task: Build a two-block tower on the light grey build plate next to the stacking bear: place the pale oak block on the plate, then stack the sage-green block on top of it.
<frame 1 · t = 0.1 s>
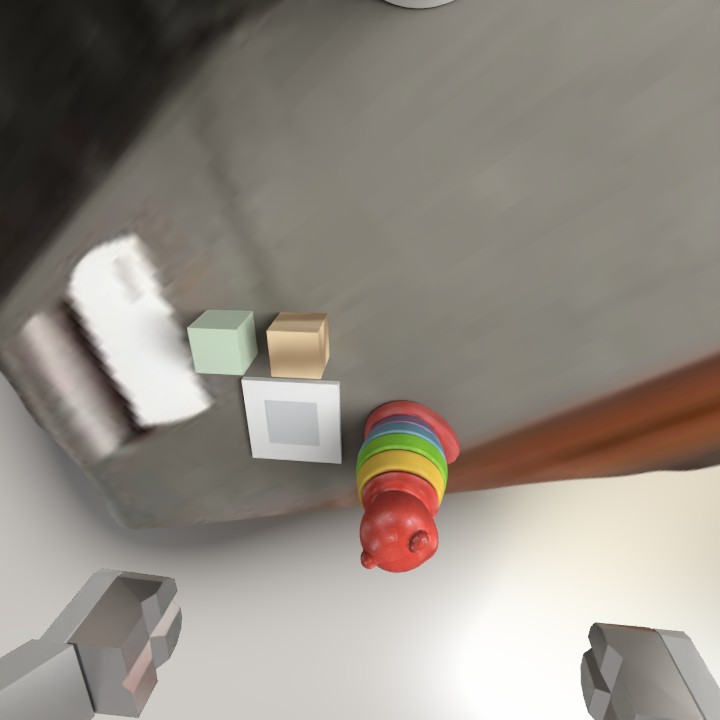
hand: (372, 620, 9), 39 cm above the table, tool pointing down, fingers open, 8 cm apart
build plate: (294, 419, 55), on the table
sage block: (233, 331, 51), on the table
stacking bear: (405, 433, 55), on the table
oak block: (305, 334, 50), on the table
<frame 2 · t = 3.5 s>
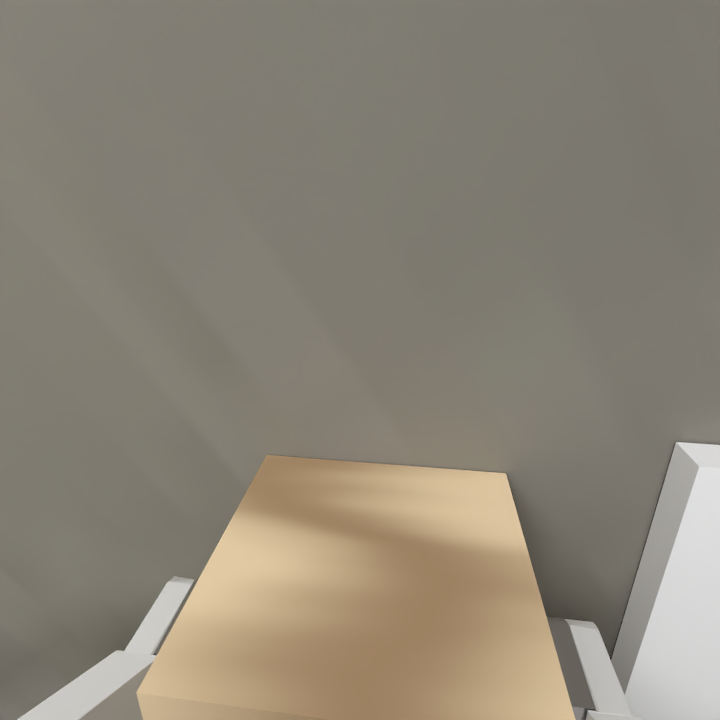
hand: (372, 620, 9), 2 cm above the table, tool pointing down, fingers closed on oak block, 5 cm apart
oak block: (380, 556, 11), on the table, touching gripper
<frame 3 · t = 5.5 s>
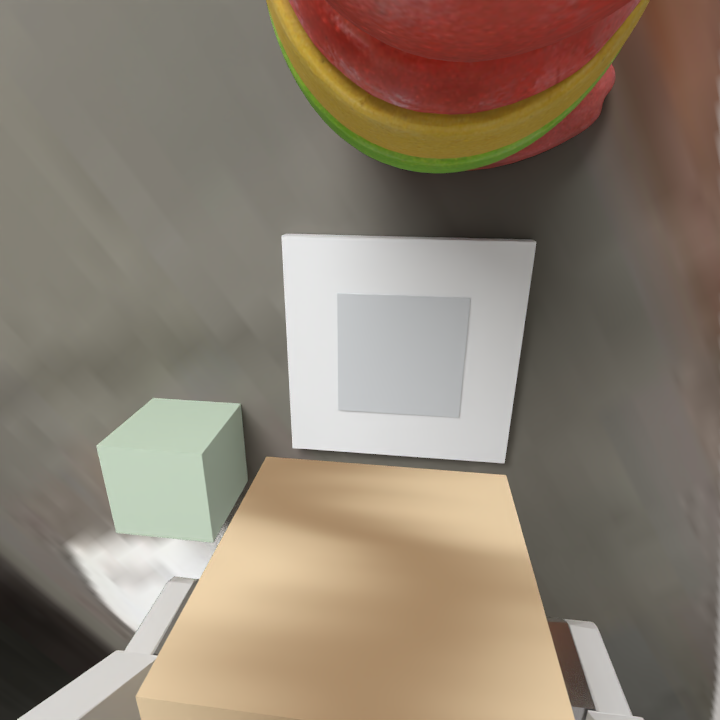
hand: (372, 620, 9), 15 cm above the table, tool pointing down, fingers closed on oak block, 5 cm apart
build plate: (400, 351, 23), on the table
sage block: (202, 439, 27), on the table
stacking bear: (447, 40, 18), on the table
oak block: (379, 558, 11), point 13 cm above the table, touching gripper
when the fingers open (4 cm above the table, at t = 7.9 s): oak block drops 1 cm, resting on build plate.
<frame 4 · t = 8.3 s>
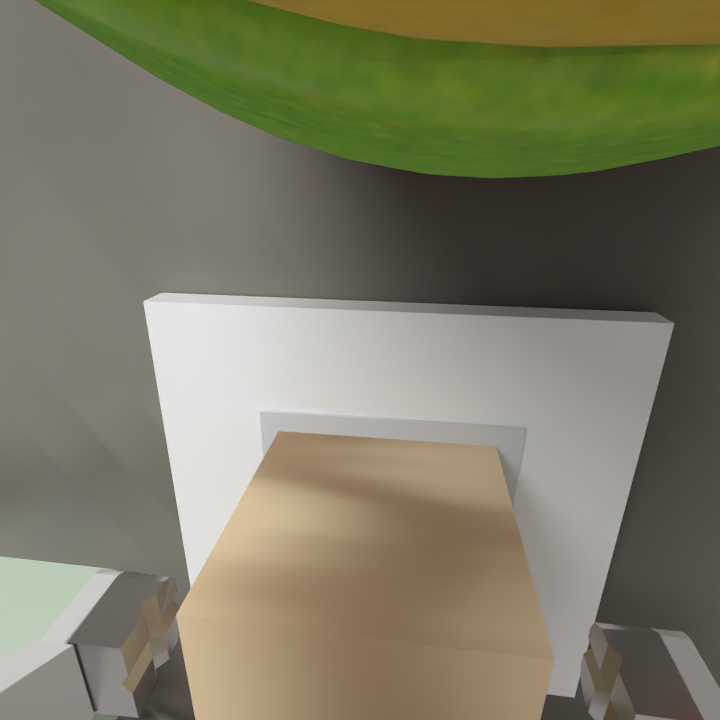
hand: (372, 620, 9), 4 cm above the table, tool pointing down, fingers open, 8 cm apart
build plate: (387, 502, 13), on the table
sage block: (61, 615, 16), on the table
oak block: (381, 525, 12), point 1 cm above the table, touching build plate
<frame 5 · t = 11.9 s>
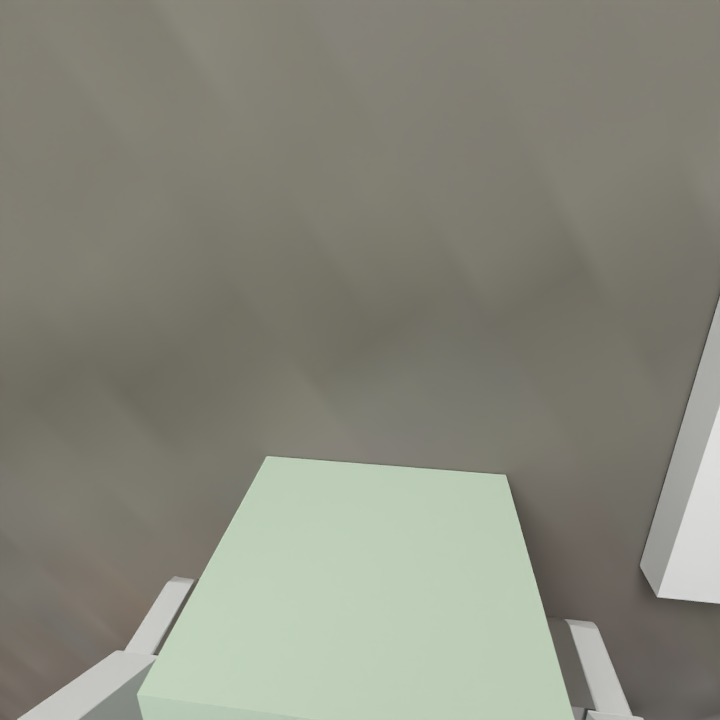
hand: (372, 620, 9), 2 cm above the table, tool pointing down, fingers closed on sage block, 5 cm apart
sage block: (379, 557, 11), on the table, touching gripper
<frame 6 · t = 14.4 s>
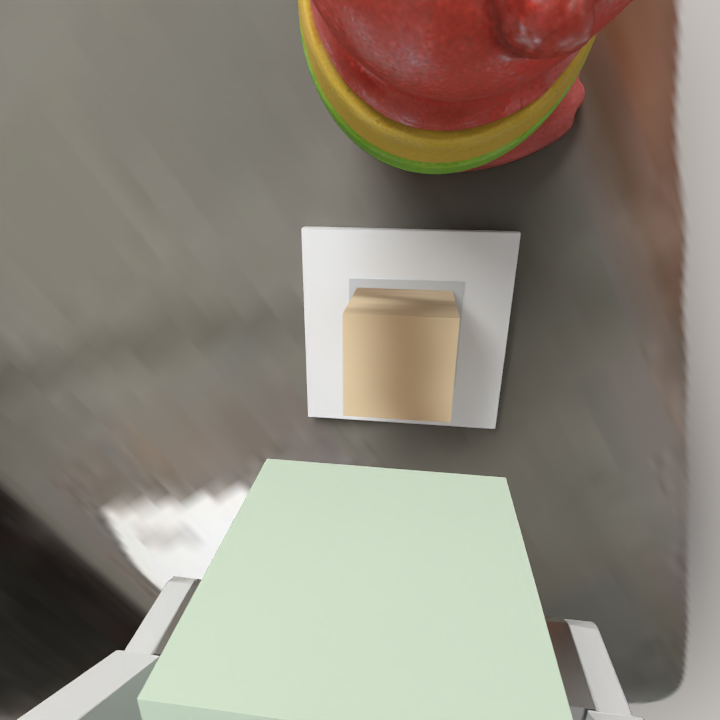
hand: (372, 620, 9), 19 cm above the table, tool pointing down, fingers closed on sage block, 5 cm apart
build plate: (404, 329, 26), on the table
sage block: (379, 560, 11), point 17 cm above the table, touching gripper
stacking bear: (444, 61, 22), on the table
oak block: (402, 334, 26), point 1 cm above the table, touching build plate
when the fingers open (9 cm above the table, at t = 17.0 s): sage block drops 1 cm, resting on oak block.
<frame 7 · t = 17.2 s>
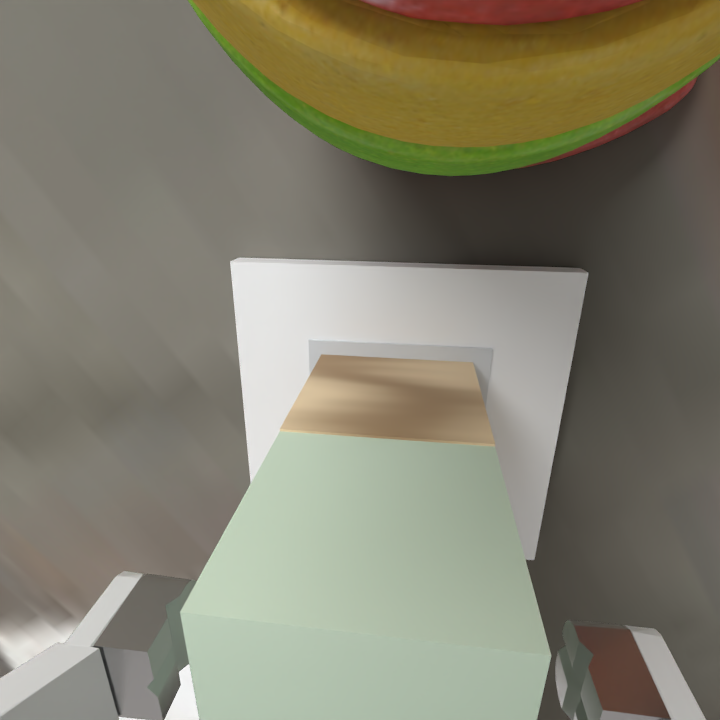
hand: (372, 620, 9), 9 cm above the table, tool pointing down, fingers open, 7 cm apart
build plate: (396, 413, 17), on the table
sage block: (381, 524, 12), point 6 cm above the table, touching oak block
oak block: (393, 424, 16), point 1 cm above the table, touching build plate, sage block
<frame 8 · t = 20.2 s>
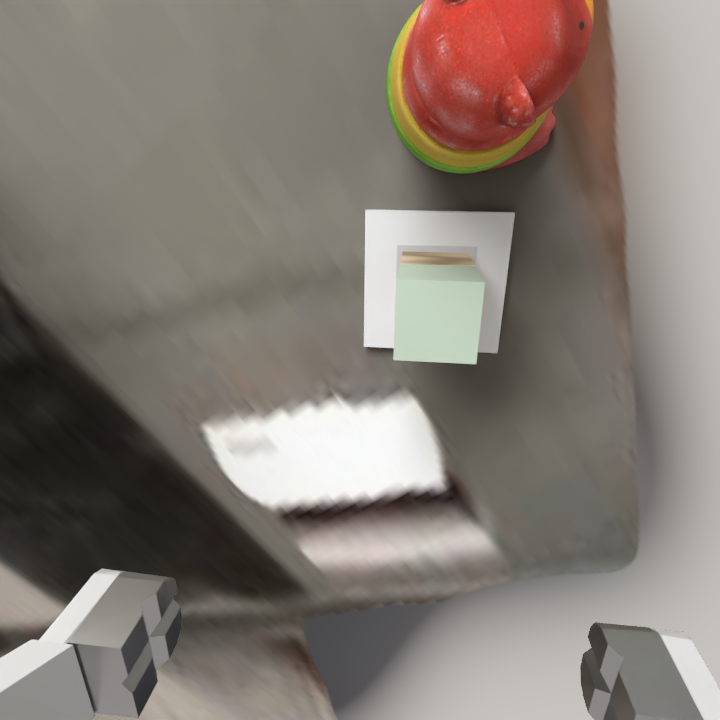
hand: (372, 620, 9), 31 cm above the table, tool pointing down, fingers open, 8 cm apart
build plate: (433, 282, 38), on the table
sage block: (434, 301, 32), point 6 cm above the table, touching oak block
stacking bear: (464, 99, 33), on the table
oak block: (433, 284, 37), point 1 cm above the table, touching build plate, sage block
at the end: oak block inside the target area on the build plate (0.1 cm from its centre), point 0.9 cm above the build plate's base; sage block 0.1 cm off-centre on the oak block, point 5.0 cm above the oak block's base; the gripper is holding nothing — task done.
